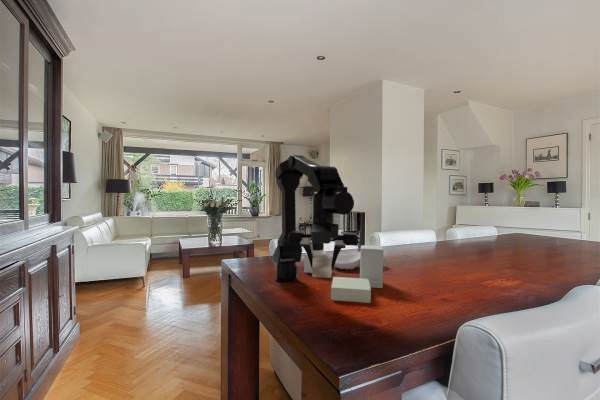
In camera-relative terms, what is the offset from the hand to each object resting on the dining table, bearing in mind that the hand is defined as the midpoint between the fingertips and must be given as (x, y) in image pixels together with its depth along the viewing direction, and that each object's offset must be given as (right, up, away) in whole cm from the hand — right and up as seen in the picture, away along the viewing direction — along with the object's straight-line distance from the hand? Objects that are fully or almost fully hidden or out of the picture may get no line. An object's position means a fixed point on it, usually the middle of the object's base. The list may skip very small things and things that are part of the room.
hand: (322, 269), depth 81 cm
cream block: (0, -2, 0) cm, 2 cm away
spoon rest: (+18, -10, +42) cm, 47 cm away
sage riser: (+9, -10, +8) cm, 16 cm away
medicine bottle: (0, -9, +35) cm, 36 cm away
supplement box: (+18, -10, +19) cm, 28 cm away
